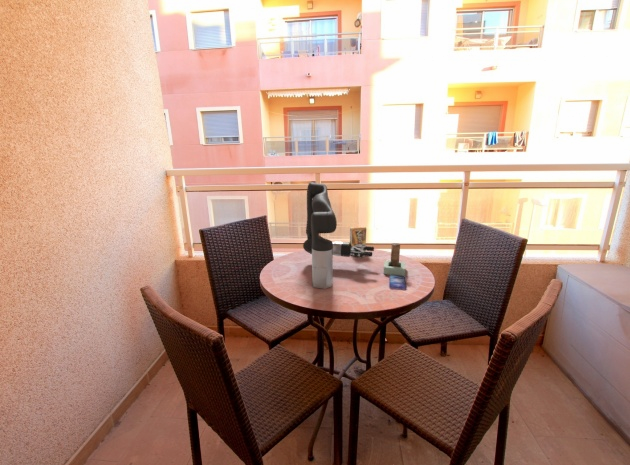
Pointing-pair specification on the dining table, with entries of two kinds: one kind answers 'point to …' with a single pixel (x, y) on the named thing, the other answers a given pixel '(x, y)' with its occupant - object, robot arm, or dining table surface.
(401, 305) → the dining table surface
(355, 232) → the candy box
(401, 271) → the square frame
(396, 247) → the dowel
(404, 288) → the smartphone
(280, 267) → the dining table surface
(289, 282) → the dining table surface
